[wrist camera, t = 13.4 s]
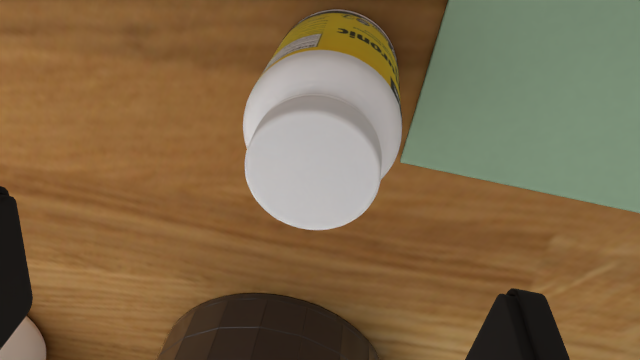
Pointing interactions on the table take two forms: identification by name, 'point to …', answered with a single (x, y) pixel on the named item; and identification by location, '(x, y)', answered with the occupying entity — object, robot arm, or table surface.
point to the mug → (24, 343)
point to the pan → (263, 332)
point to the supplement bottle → (324, 121)
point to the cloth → (535, 98)
